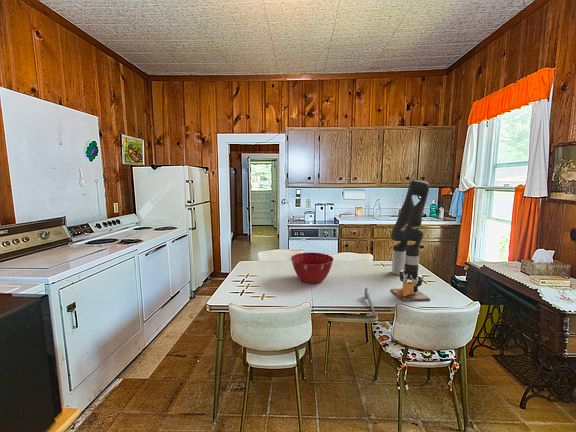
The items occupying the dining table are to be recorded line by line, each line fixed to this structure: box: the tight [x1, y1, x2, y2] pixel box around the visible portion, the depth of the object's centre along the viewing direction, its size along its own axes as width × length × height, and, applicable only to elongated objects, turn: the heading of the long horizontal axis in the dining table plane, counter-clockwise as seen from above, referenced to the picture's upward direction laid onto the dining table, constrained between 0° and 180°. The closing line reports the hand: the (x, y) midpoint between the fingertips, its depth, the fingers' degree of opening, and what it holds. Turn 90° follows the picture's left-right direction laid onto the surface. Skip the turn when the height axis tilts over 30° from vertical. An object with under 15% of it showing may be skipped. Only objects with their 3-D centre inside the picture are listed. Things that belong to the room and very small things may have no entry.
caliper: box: [364, 287, 376, 313], centre depth 162 cm, size 20×1×6 cm, turn 178°
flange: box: [397, 280, 418, 296], centre depth 172 cm, size 12×6×5 cm, turn 125°
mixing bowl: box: [290, 252, 335, 284], centre depth 200 cm, size 28×28×16 cm
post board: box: [390, 288, 431, 302], centre depth 174 cm, size 16×16×6 cm
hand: (410, 290), depth 174 cm, fingers closed on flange, 6 cm apart
